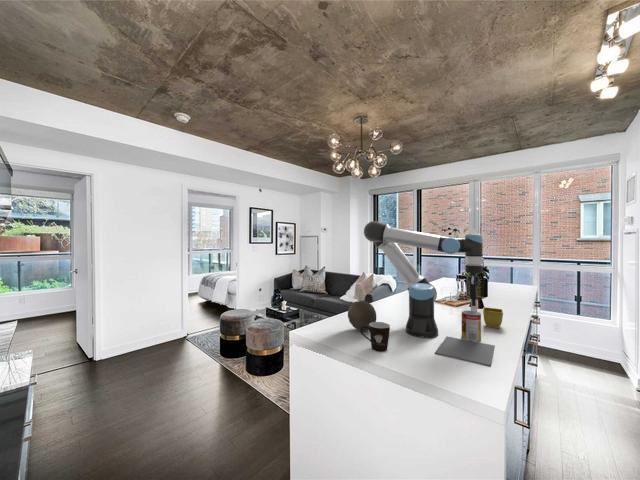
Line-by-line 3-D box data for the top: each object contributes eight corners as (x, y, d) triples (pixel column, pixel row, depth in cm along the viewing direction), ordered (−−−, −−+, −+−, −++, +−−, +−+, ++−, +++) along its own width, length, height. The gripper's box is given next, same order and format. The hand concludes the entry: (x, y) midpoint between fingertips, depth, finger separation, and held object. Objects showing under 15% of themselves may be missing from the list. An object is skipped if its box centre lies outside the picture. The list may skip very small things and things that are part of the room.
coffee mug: (394, 348, 114) (393, 324, 114) (383, 354, 107) (382, 329, 108) (370, 341, 122) (370, 319, 122) (359, 346, 116) (359, 323, 116)
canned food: (477, 336, 129) (477, 310, 129) (483, 342, 121) (483, 315, 121) (459, 334, 131) (459, 310, 131) (464, 340, 123) (464, 314, 123)
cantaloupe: (353, 325, 146) (353, 297, 146) (379, 328, 140) (379, 299, 140) (343, 333, 133) (343, 302, 133) (372, 337, 127) (372, 305, 127)
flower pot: (502, 325, 145) (502, 309, 145) (503, 330, 137) (503, 312, 137) (483, 323, 149) (483, 307, 149) (483, 327, 142) (482, 310, 142)
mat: (434, 353, 108) (434, 352, 108) (446, 337, 127) (446, 336, 127) (490, 366, 97) (490, 365, 97) (494, 346, 116) (494, 345, 116)
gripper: (481, 266, 128) (481, 316, 128) (483, 264, 138) (483, 310, 138) (463, 265, 132) (463, 313, 132) (467, 263, 143) (467, 308, 143)
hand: (474, 311), depth 135 cm, fingers closed
